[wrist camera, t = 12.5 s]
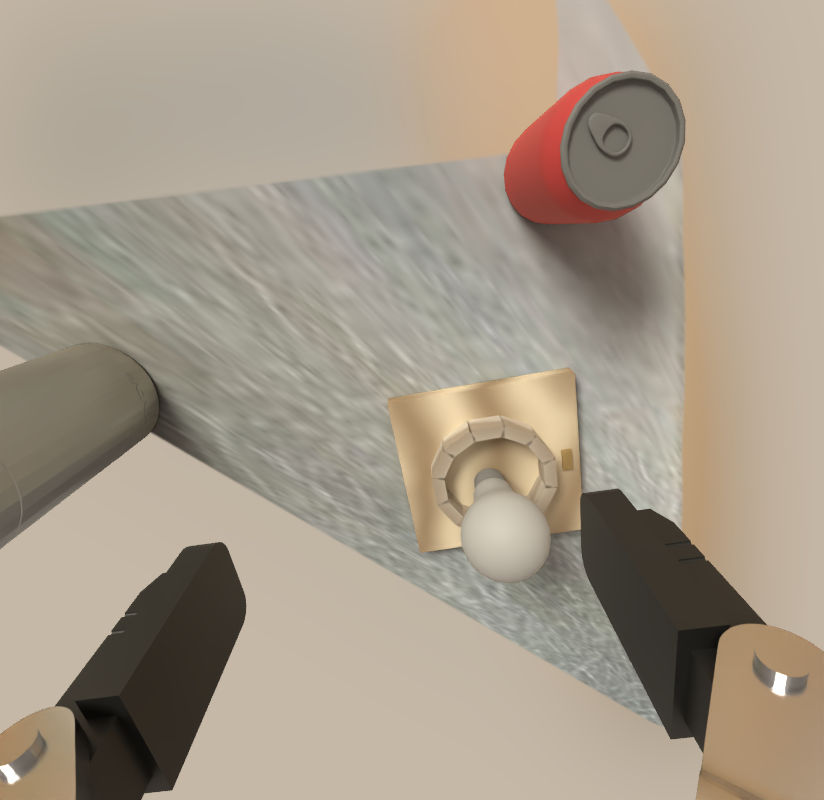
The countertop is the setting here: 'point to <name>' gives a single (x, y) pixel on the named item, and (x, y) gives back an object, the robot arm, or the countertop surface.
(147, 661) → the robot arm
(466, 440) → the lamp holder
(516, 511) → the lightbulb
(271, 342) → the countertop surface
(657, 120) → the beer can
